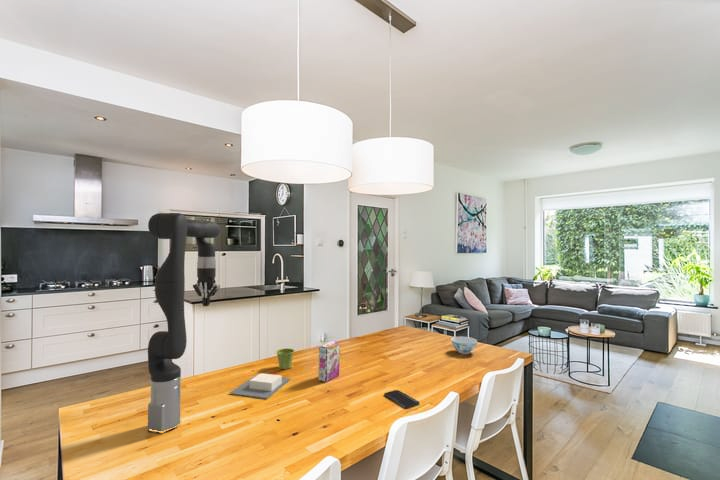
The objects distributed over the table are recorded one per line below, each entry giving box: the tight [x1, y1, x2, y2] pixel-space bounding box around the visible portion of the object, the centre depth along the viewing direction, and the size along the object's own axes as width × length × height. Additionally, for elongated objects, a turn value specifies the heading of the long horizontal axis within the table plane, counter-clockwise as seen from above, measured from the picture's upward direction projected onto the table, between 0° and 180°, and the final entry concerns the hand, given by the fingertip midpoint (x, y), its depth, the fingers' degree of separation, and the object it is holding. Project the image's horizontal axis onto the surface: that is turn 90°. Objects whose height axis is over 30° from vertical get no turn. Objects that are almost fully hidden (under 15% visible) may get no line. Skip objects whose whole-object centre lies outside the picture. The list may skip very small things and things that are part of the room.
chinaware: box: [450, 336, 478, 355], centre depth 209 cm, size 15×15×8 cm
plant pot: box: [275, 348, 296, 370], centre depth 182 cm, size 9×9×9 cm
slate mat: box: [229, 374, 292, 400], centre depth 157 cm, size 22×18×1 cm
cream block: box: [249, 372, 283, 391], centre depth 157 cm, size 9×4×11 cm
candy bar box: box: [318, 340, 341, 383], centre depth 168 cm, size 11×5×16 cm, turn 149°
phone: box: [383, 389, 420, 410], centre depth 145 cm, size 8×1×15 cm
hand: (206, 305), depth 154 cm, fingers closed
